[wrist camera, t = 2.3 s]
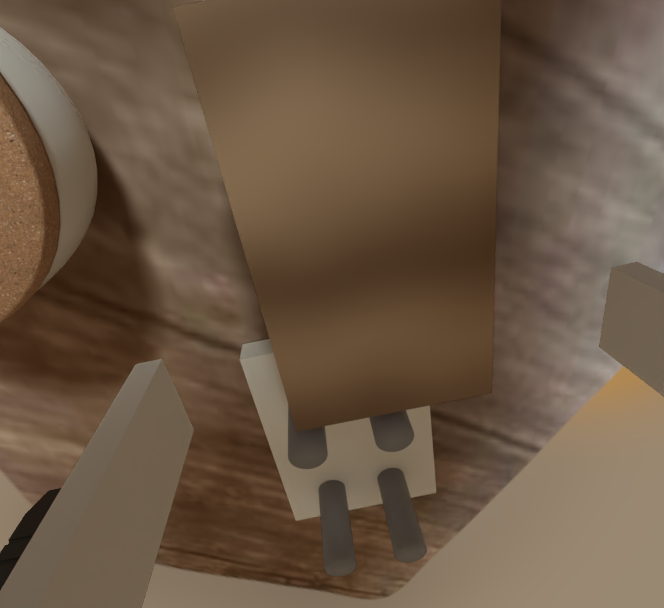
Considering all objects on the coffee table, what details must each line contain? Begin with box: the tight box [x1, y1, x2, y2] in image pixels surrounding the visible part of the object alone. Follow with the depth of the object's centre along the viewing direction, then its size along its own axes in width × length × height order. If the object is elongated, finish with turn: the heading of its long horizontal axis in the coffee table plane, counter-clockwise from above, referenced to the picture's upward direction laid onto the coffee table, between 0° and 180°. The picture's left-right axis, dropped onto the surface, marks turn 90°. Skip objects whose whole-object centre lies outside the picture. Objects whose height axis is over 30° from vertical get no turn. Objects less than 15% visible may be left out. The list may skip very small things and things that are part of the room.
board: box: [173, 0, 502, 432], centre depth 14 cm, size 14×8×2 cm, turn 10°
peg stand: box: [240, 339, 436, 576], centre depth 23 cm, size 14×10×6 cm
